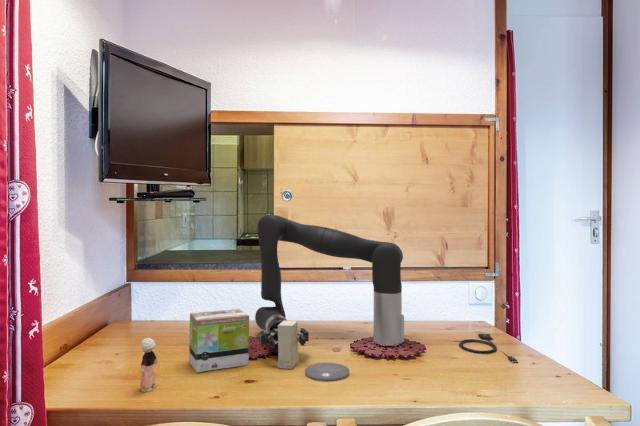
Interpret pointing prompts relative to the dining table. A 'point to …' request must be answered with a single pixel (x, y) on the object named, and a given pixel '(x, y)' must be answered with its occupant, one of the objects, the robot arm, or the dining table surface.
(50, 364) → the dining table surface
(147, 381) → the grandmother figurine
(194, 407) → the dining table surface
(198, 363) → the tea box
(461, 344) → the cable
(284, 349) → the skincare box
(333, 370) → the coaster
